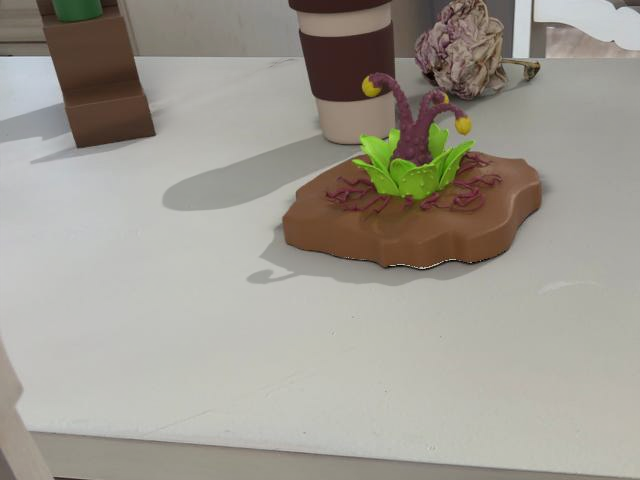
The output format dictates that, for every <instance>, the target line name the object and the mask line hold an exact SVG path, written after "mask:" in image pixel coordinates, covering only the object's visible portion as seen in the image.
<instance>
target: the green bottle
mask: <svg viewBox="0 0 640 480" xmlns="http://www.w3.org/2000/svg"><path fill="white" fill-rule="evenodd" d="M52 2H53V6H54V9H55V12H56V16H57V19H58V20H60V21H68V22H69V21H82V20H88V19H92V18H96V17H99V16H101V15H102V14H103V10H102V6H101V3H100V0H52Z"/></svg>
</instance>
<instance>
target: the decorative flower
mask: <svg viewBox="0 0 640 480" xmlns="http://www.w3.org/2000/svg"><path fill="white" fill-rule="evenodd" d="M436 18H437V22H436V23H435V24H434V26H433V27H431V28H429V29H428V31H424V32H422V33H421V35H420V36H419V37H418V38H416V41H415V43H414V49H413V53H414V54H413V56H414V62H415V65H417V66H418V67H419V69H420V70H421V72H420V75H421V76H422V77H423V79H424V80H425V81H427V82H428V83H429V84H430V85H431V87H433V88H439V90H440V91H443V93H445V94H447V93H448V92H449V93H450V94H452V95H454V94H455V95H457V96H458V97H460V99H464V100H465V101H470V100H471V101H472V100H473V99H474V98H478V97H480V96H482V94H483V92H484V91H485V89H489V88H491V89H493V90H494V92H495V93H499V92H500V91H502V89H503V88H505V86H506V85H507V84H508V83H509V80H508V75H507V73H506V71H505V68H504V66H503V64H513V65H519V66H523V67H524V68H523V77H524V78H525V79H526V80H527V82H528V81H531V80H532V79H534V78H535V77H536V75H537V74H538V73H539V71H540V70H541V64H540V63H539V61H538V60H536V61H535V62H531V61H530V62H529V61H525V60H524V61H522V60H515V59H506V58H503V57H502V55H501V53H502V48H503V41H504V31H505V29H506V28H505V25H504V24H503V23H502V22H501V20H500V19H499V18H496V17H492V16H489V12H488V7H487V4H486V3H485V2H484V1H483V0H452V1H451V2H449V4H448V5H446V6H443V8H442V9H441V11H440V12H439V13H438V14H436Z"/></svg>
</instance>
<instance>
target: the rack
mask: <svg viewBox="0 0 640 480" xmlns="http://www.w3.org/2000/svg"><path fill="white" fill-rule="evenodd" d="M35 3H36V5H37V9H38V12H39V16H40V22H41V29H42V31H43V36H44V38H45V41H46V42H45V43H46V45H47V48H48V51H49V55H50V58H51V61H52V64H53V68H54V70H55V74H56V78H57V81H58V84H59V87H60V91H61V96H62V101H63V106H64V108H63V109H64V112H65V114H66V118H67V120H68V124H69V127H70V130H71V134H72V137H73V140H74V143H75V146H76V149H83V148H89V147H93V146H94V147H95V146H99V145H106V144H112V143H118V142H124V141H129V140H137V139H142V138H147V137H148V138H149V137H153V136H156V135H157V133H156V129H155V125H154V121H153V116H152V113H151V109H150V104H149V101H148V97H147V94H146V92H145V90H144V86H143V84H142V82H141V79H140V76H139V71H138V68H137V64H136V60H135V57H134V56H135V55H134V52H133V49H132V44H131V41H130V37H129V32H128V29H127V25H126V21H125V17H124V14H123V12H122V9H121V8H120V6H119V2H118V0H100V3H101V6H102V10H103V14H102V15H101V16H99V17H96V18H92V19H88V20H82V21H69V22H68V21H60V20H58V19H57V16H56V12H55V9H54V6H53V2H52V0H35Z"/></svg>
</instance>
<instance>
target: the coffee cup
mask: <svg viewBox="0 0 640 480" xmlns="http://www.w3.org/2000/svg"><path fill="white" fill-rule="evenodd" d="M392 1H393V0H287V2H288V3H287V4H288V7H289V8H290V9H291V10H292V11H295V12H296V17H297V20H298V24H299V25H298V26H299V29H298V37H299V41H300V45H301V49H302V54H303V59H304V64H305V68H306V72H307V77H308V82H309V87H310V90H311V94H312V95H313V97H314V98H315V99H314V100H315V104H316V108H317V113H318V117H319V122H320V127H321V131H322V135H323V136H324V138H325V139H326V140H327V141H328V142H329V141H330V142H332V143H335V144H340V145H363V144H362V143H361V142H360V136H361V135H362V134H363V135H366V136H373V137H377V138H379V139H381V140H384V139H386V138H389V133H390V131H391V129H396V109H395V107H396V106H395V97H394V96H393V91H392V89H390V87H389V86H388V84H387V83H383V84H382V88H381V91H380V92H379V93H378V94H377V95H376V96H374V97H369V96H366V94H365V93H364V92H363V89H362V83H363V81H364V79H365V78H366V77H368V76H369V75H370V74H375V73H377V72H378V73H383V74H387V75H389V76H390V77H392V78H393V79H395V80H396V81H397V79H396V61H395V60H396V58H395V57H396V53H395V33H394V22H393V19H392V17H391V3H392Z"/></svg>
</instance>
